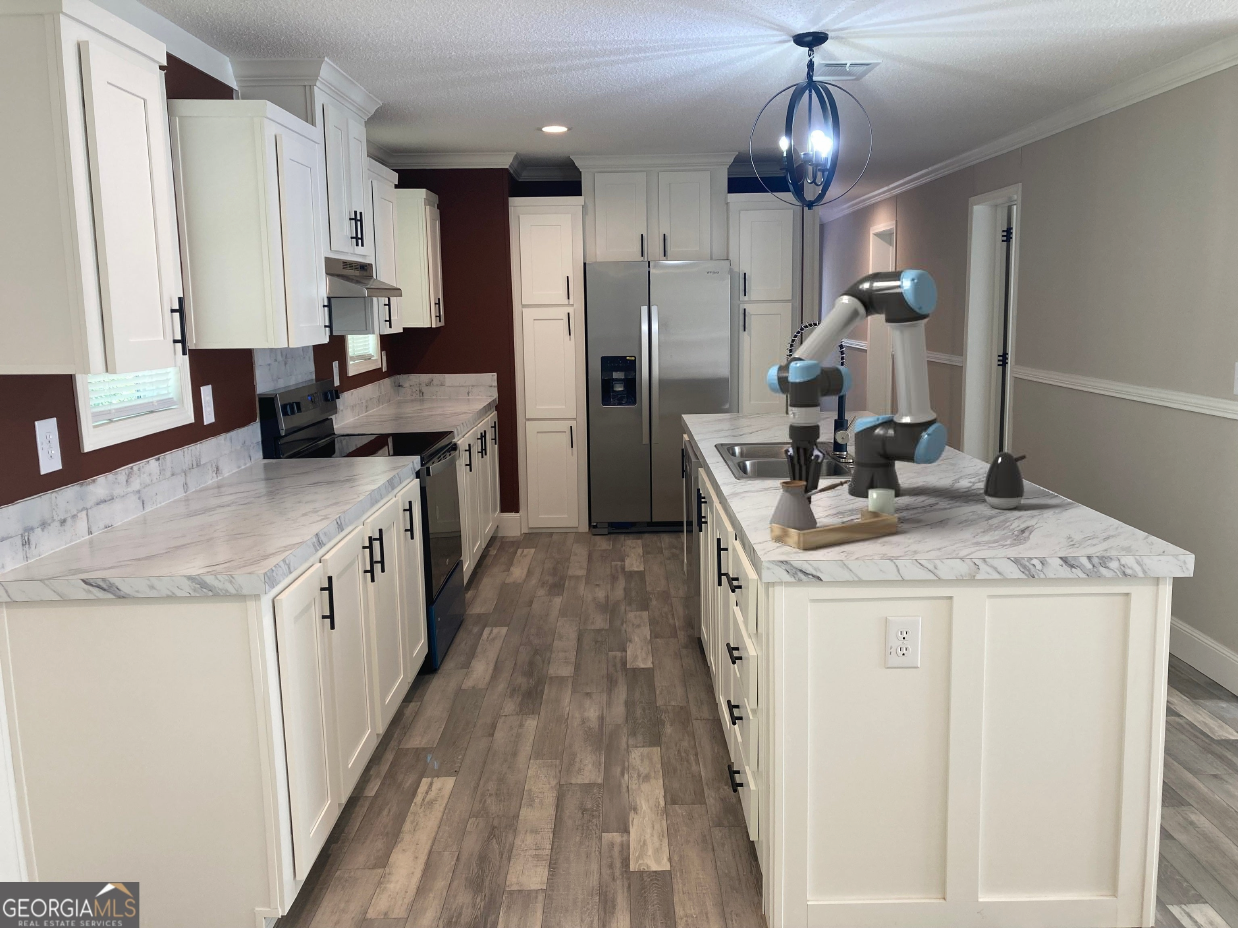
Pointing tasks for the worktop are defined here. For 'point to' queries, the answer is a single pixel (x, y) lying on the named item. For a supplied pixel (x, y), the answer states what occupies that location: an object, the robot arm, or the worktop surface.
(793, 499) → the coffee pot
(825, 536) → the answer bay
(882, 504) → the green jar
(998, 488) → the pump dispenser
